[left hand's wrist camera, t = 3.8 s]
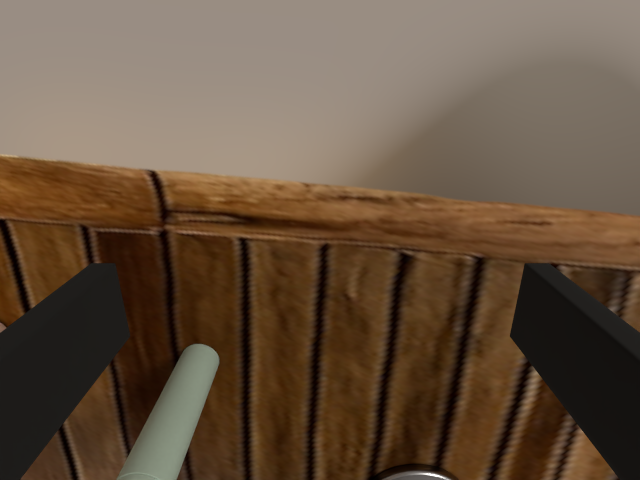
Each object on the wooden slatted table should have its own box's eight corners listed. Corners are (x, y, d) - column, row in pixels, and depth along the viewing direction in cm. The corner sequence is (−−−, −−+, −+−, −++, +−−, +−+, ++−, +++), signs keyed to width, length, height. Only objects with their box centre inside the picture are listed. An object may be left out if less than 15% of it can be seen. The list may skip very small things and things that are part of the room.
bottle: (193, 379, 49) (100, 591, 28) (174, 350, 47) (62, 553, 27) (225, 367, 48) (155, 576, 28) (208, 338, 47) (119, 536, 26)
